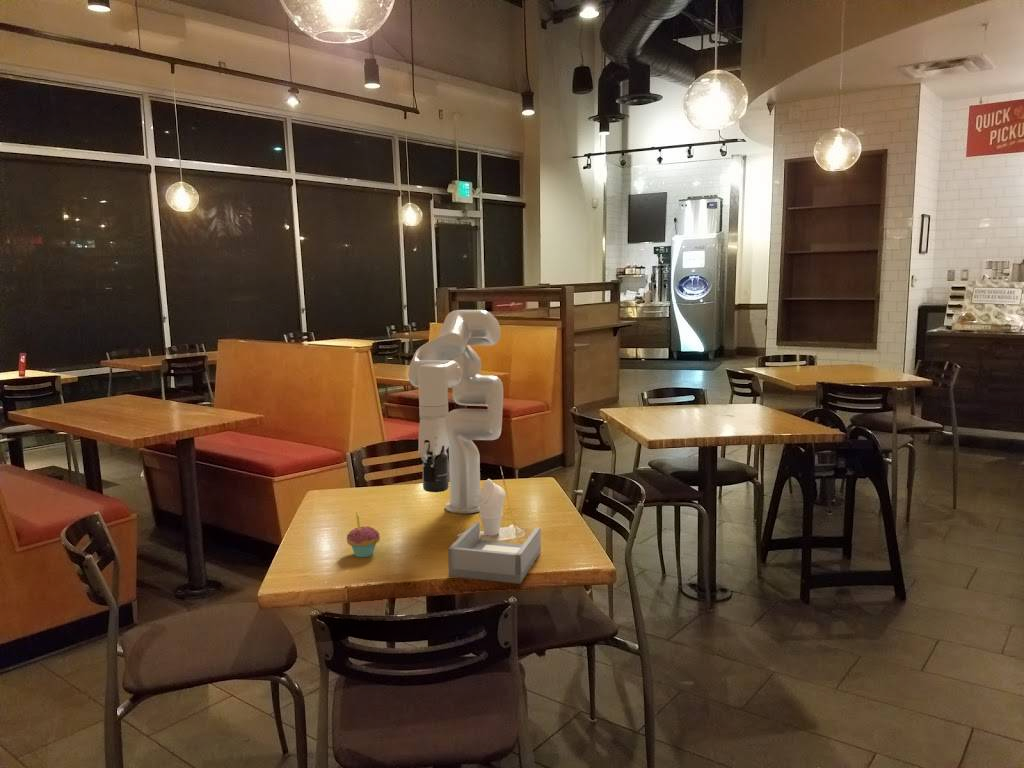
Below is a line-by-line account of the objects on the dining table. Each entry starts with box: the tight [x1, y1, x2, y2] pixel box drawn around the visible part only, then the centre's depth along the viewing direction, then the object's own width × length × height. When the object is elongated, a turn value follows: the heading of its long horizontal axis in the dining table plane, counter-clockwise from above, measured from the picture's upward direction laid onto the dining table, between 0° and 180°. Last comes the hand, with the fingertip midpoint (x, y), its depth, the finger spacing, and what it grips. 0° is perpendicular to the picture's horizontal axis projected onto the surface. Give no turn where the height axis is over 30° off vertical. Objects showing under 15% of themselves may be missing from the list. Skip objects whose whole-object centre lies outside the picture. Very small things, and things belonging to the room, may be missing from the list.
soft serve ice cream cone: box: [476, 478, 506, 537], centre depth 203 cm, size 8×8×16 cm
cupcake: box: [346, 512, 381, 558], centre depth 189 cm, size 9×8×12 cm
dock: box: [447, 521, 542, 585], centre depth 181 cm, size 20×18×7 cm
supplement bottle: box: [422, 445, 450, 493], centre depth 190 cm, size 7×7×12 cm
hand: (435, 477), depth 191 cm, fingers closed on supplement bottle, 6 cm apart
